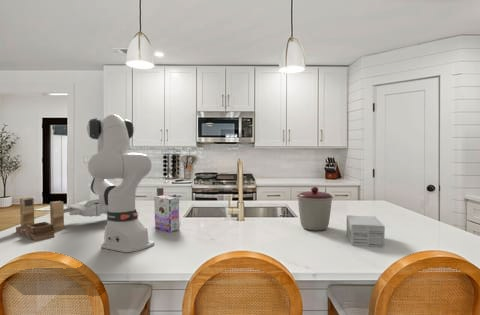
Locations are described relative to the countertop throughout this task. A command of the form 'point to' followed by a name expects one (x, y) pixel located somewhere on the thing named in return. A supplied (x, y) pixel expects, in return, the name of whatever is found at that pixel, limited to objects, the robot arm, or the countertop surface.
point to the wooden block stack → (32, 222)
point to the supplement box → (365, 231)
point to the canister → (314, 209)
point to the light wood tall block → (57, 215)
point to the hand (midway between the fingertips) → (65, 212)
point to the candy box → (167, 213)
